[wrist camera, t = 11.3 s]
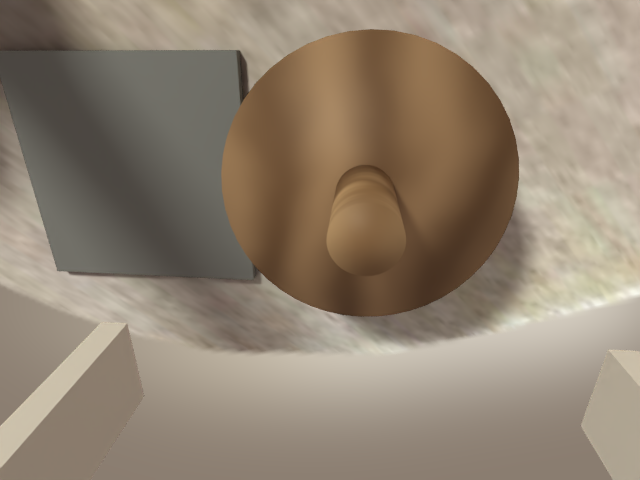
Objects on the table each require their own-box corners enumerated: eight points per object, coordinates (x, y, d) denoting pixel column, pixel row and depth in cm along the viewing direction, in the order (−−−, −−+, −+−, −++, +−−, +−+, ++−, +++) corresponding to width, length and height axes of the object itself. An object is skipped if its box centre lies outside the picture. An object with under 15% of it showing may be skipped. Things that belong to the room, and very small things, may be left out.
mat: (63, 266, 46) (57, 270, 45) (1, 51, 37) (-8, 50, 36) (255, 275, 44) (253, 280, 43) (239, 50, 35) (236, 50, 34)
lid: (238, 303, 34) (198, 382, 25) (210, 32, 26) (139, 19, 17) (487, 315, 32) (531, 403, 24) (542, 28, 24) (638, 11, 16)
